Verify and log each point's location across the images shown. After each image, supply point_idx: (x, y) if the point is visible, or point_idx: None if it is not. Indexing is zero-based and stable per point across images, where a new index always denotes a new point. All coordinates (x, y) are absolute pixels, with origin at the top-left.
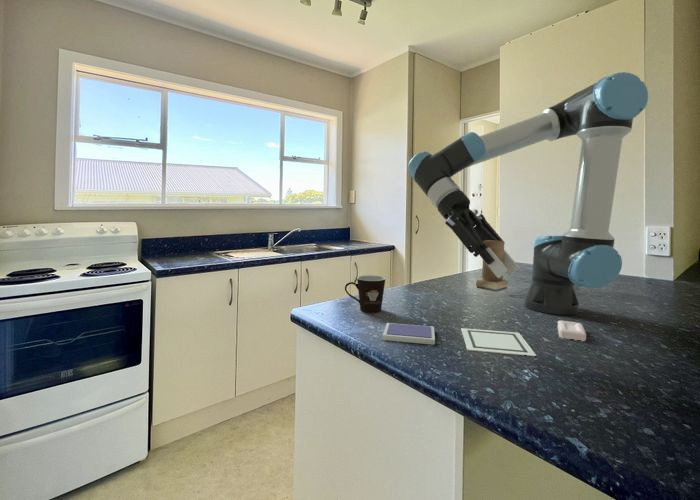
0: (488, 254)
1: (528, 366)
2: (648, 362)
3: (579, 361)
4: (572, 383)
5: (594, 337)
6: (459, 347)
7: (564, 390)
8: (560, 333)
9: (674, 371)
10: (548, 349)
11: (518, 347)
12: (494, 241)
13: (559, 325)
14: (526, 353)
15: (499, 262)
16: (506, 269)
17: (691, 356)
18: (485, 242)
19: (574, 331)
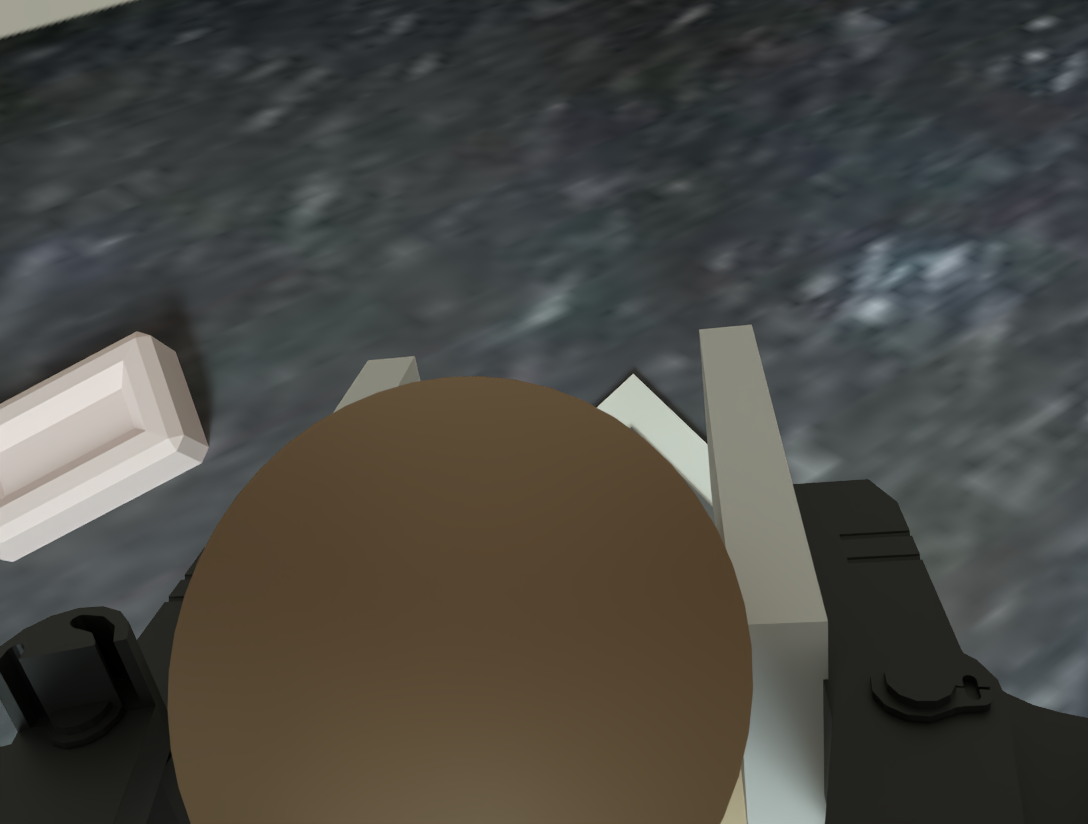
0: (861, 573)
1: (804, 330)
2: (247, 86)
3: (497, 234)
4: (792, 133)
5: (58, 351)
6: None
7: (899, 116)
8: (190, 449)
9: (275, 6)
10: None
11: None
12: (505, 600)
13: (77, 498)
14: (652, 423)
15: (768, 403)
16: (728, 337)
17: (30, 36)
18: (733, 781)
19: (149, 380)
